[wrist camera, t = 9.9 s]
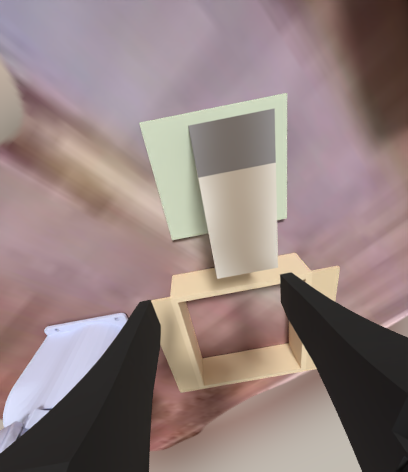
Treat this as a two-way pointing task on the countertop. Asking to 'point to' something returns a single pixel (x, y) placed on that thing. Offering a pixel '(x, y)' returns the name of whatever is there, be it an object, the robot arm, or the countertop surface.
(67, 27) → the countertop surface
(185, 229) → the mat
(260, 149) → the box
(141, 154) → the countertop surface
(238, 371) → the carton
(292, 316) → the robot arm
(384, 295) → the countertop surface
